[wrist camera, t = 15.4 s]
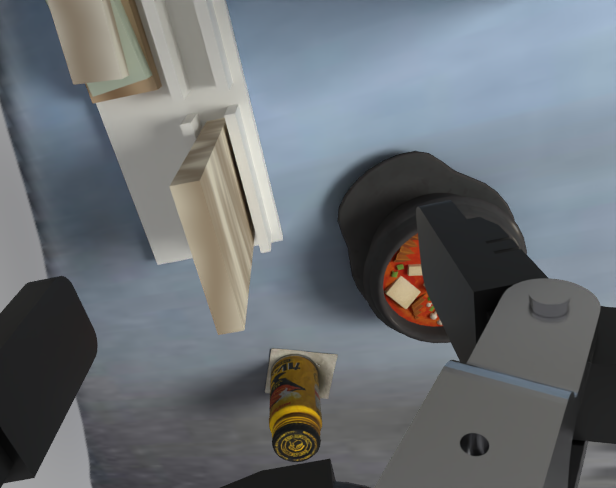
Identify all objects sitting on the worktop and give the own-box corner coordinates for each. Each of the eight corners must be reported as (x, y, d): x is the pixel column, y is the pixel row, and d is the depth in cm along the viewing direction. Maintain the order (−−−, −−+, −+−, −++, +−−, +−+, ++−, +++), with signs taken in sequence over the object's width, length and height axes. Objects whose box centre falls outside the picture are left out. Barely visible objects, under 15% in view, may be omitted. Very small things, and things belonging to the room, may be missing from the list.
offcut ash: (101, -33, 38) (92, -35, 37) (129, 75, 42) (122, 78, 40) (49, -27, 38) (38, -28, 37) (82, 80, 42) (73, 84, 40)
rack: (199, -109, 41) (188, -123, 36) (282, 234, 55) (282, 258, 50) (36, -72, 42) (3, -80, 37) (160, 258, 56) (149, 284, 51)
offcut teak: (114, -63, 41) (107, -66, 39) (162, 86, 46) (157, 89, 44) (44, -47, 41) (34, -49, 39) (99, 99, 47) (92, 103, 45)
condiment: (271, 347, 62) (269, 421, 52) (337, 353, 63) (349, 427, 53) (264, 391, 66) (261, 469, 55) (327, 396, 67) (336, 474, 56)
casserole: (550, 272, 59) (588, 312, 52) (419, 353, 64) (438, 401, 57) (440, 107, 50) (468, 127, 42) (296, 216, 55) (299, 252, 47)
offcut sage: (98, -51, 39) (89, -54, 38) (152, 75, 44) (147, 78, 42) (40, -31, 40) (29, -32, 38) (100, 92, 44) (93, 96, 43)
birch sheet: (227, 117, 48) (199, 180, 32) (255, 228, 53) (244, 330, 37) (206, 121, 48) (169, 186, 32) (237, 231, 53) (218, 334, 37)
